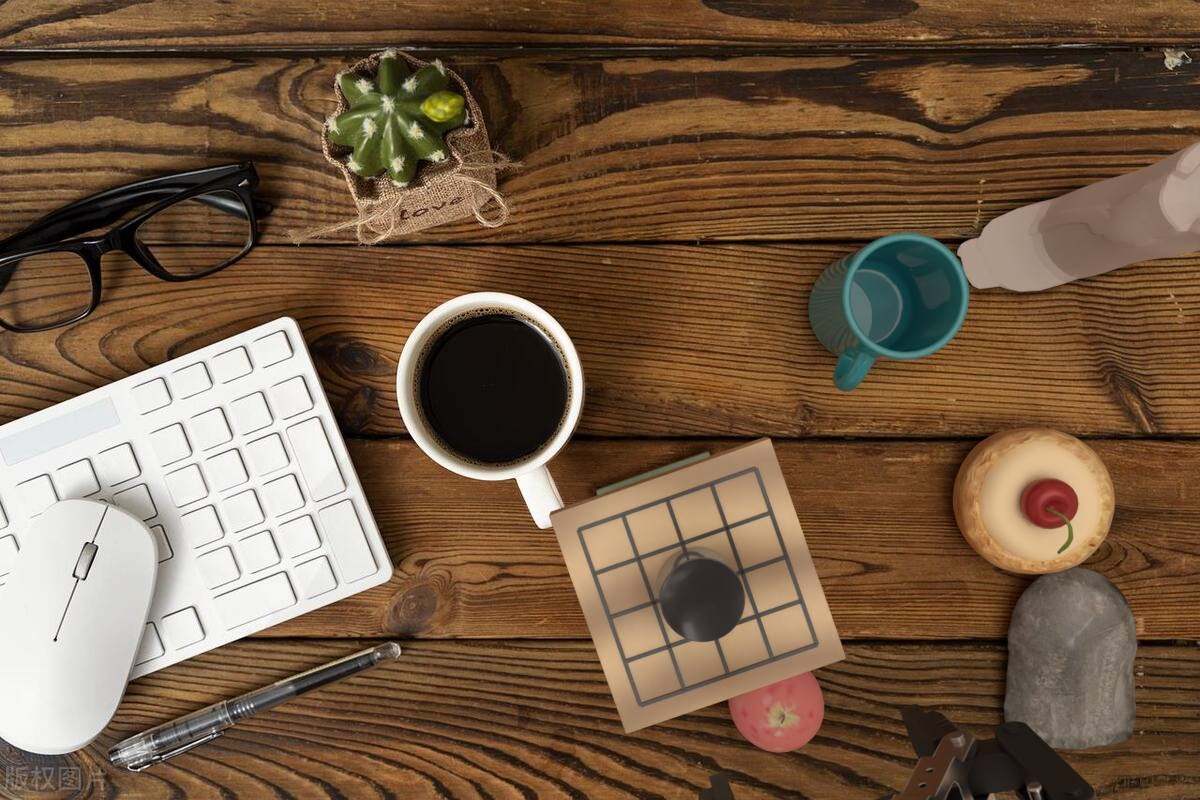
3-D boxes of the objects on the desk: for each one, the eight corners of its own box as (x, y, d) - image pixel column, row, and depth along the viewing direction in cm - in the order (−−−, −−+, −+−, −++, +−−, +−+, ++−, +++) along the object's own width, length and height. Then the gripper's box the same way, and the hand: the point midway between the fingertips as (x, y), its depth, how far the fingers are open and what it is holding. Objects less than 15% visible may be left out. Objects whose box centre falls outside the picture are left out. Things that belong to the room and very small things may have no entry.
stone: (1002, 559, 72) (990, 723, 75) (1019, 577, 68) (1006, 749, 71) (1140, 563, 71) (1123, 730, 73) (1166, 582, 67) (1147, 757, 69)
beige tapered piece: (949, 228, 72) (1081, 170, 52) (1109, 181, 72) (1304, 105, 52) (972, 310, 72) (1113, 284, 52) (1132, 264, 72) (1335, 220, 52)
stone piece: (748, 611, 51) (757, 626, 48) (672, 637, 51) (676, 654, 48) (721, 535, 51) (729, 545, 48) (645, 562, 51) (648, 573, 48)
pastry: (1062, 408, 72) (1126, 412, 63) (1098, 542, 72) (1167, 565, 63) (924, 446, 72) (968, 456, 63) (960, 580, 73) (1010, 608, 64)
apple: (756, 744, 73) (775, 789, 65) (706, 674, 73) (718, 711, 65) (827, 693, 73) (854, 732, 65) (776, 624, 73) (797, 654, 65)
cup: (773, 366, 72) (804, 364, 61) (834, 237, 72) (876, 211, 61) (870, 411, 72) (918, 418, 61) (931, 282, 72) (991, 264, 61)
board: (776, 575, 73) (847, 659, 51) (620, 629, 73) (626, 735, 51) (722, 420, 72) (770, 438, 51) (566, 474, 73) (548, 515, 51)
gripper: (751, 1300, 20) (691, 897, 36) (1328, 1107, 20) (1008, 788, 36) (645, 1002, 20) (631, 732, 36) (1219, 805, 20) (948, 621, 36)
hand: (819, 760), depth 36 cm, fingers open, 8 cm apart
